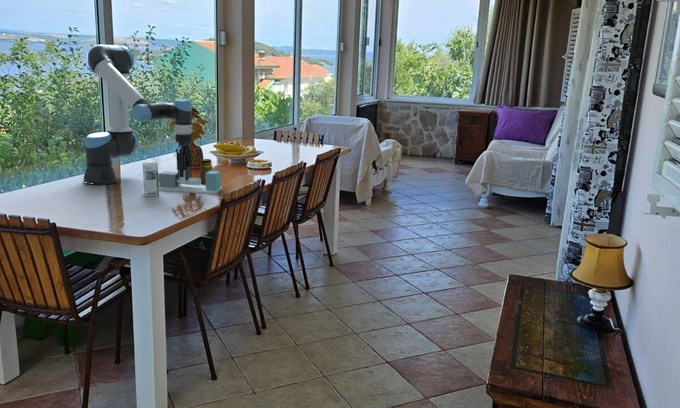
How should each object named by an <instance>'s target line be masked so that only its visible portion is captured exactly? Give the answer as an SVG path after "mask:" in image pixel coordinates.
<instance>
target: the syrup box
mask: <svg viewBox="0 0 680 408" xmlns="http://www.w3.org/2000/svg"><path fill="white" fill-rule="evenodd" d="M158 175H159V164H158V162H143V163H142V178H143V192H144V193H143V194H144V195H145V197H159V196H160V190H159V179H158Z"/></svg>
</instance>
